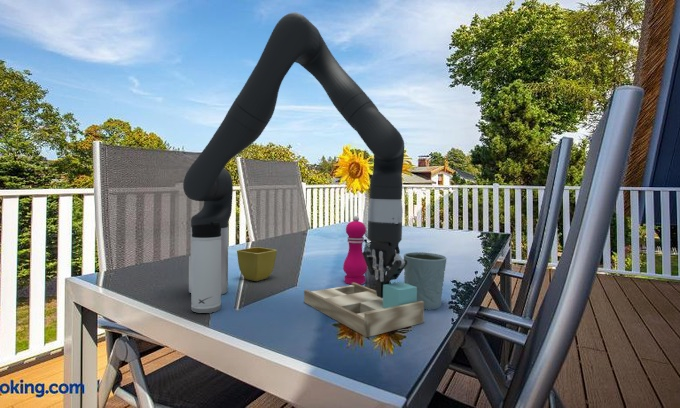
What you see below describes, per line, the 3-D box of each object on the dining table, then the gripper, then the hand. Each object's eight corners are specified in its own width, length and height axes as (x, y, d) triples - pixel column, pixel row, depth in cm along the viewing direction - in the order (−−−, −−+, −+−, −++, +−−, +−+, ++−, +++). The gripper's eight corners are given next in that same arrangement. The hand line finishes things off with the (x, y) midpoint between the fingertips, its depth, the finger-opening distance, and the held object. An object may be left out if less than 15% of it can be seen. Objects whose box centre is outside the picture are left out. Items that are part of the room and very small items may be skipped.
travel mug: (204, 316, 78) (205, 223, 77) (185, 310, 81) (185, 221, 81) (227, 308, 83) (228, 221, 82) (208, 303, 87) (209, 219, 86)
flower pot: (277, 278, 113) (277, 249, 112) (256, 284, 105) (257, 253, 105) (256, 274, 118) (257, 246, 117) (235, 279, 110) (236, 250, 110)
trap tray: (366, 337, 68) (367, 314, 68) (304, 302, 89) (304, 284, 89) (423, 322, 76) (423, 301, 76) (354, 293, 97) (354, 277, 97)
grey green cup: (400, 297, 94) (401, 251, 94) (439, 298, 94) (440, 252, 94) (406, 310, 84) (407, 258, 84) (450, 311, 84) (451, 259, 83)
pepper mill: (365, 285, 105) (366, 217, 105) (340, 284, 107) (341, 216, 106) (368, 280, 112) (369, 215, 112) (345, 278, 114) (346, 214, 113)
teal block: (398, 314, 74) (399, 290, 74) (382, 307, 78) (383, 284, 78) (416, 310, 77) (416, 287, 76) (399, 304, 81) (400, 281, 81)
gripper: (353, 217, 84) (351, 291, 85) (392, 223, 73) (389, 308, 74) (378, 216, 88) (376, 287, 89) (419, 221, 77) (416, 302, 78)
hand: (382, 296), depth 81 cm, fingers closed
